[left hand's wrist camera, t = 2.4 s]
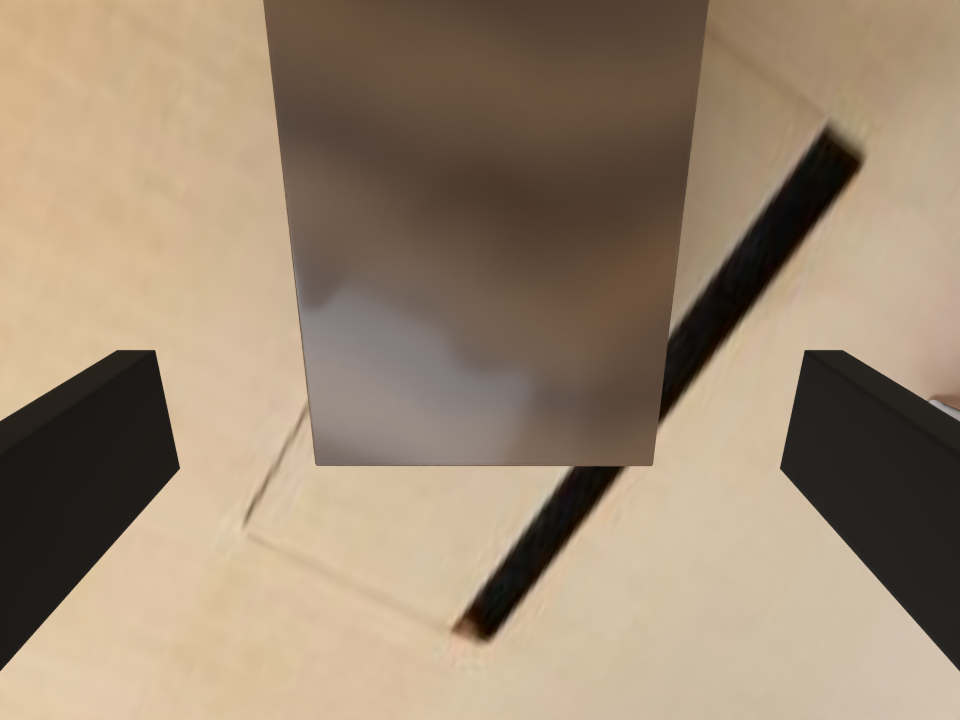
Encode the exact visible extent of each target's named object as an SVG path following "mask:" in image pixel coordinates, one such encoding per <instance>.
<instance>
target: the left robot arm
mask: <svg viewBox="0 0 960 720" xmlns="http://www.w3.org/2000/svg"><path fill="white" fill-rule="evenodd" d="M179 469H180V466H179V461H178V457H177V452H176V447H175V442H174V438H173V433H172V428H171V423H170V419H169V414H168V409H167V404H166V400H165V395H164V390H163V385H162V381H161V376H160V371H159V366H158V361H157V357H156V352H155V350H117V351H115V352H113V353H112V354H110V355H108V356H107V357H105V358H104V359H102V360H100V361H99V362H97V363H95V364H94V365H92V366H90V367H89V368H87V369H85V370H84V371H82V372H80V373H79V374H77V375H76V376H74V377H72V378H71V379H69V380H67V381H66V382H64V383H62V384H61V385H59V386H57V387H56V388H54V389H52V390H51V391H49V392H47V393H46V394H44V395H43V396H41V397H39V398H38V399H36V400H34V401H33V402H31V403H29V404H28V405H26V406H24V407H23V408H21V409H19V410H18V411H16V412H15V413H13V414H11V415H10V416H8V417H6V418H5V419H3V420H1V421H0V671H1V670H2V669H3V668H4V666H5V665H6V664H7V663H8V662H9V661H10V660H11V659H12V657H13V656H14V655H15V654H16V653H17V652H18V651H19V649H20V648H21V647H22V646H23V645H24V644H25V643H26V642H27V640H28V639H29V638H30V637H31V636H32V635H33V634H34V633H35V631H36V630H37V629H38V628H39V627H40V626H41V625H42V624H43V622H44V621H45V620H46V619H47V618H48V617H49V616H50V615H51V613H52V612H53V611H54V610H55V609H56V608H57V607H58V606H59V604H60V603H61V602H62V601H63V600H64V599H65V598H66V596H67V595H68V594H69V593H70V592H71V591H72V590H73V589H74V587H75V586H76V585H77V584H78V583H79V582H80V581H81V580H82V578H83V577H84V576H85V575H86V574H87V573H88V572H89V571H90V569H91V568H92V567H93V566H94V565H95V564H96V563H97V562H98V560H99V559H100V558H101V557H102V556H103V555H104V554H105V553H106V551H107V550H108V549H109V548H110V547H111V546H112V545H113V543H114V542H115V541H116V540H117V539H118V538H119V537H120V536H121V534H122V533H123V532H124V531H125V530H126V529H127V528H128V527H129V525H130V524H131V523H132V522H133V521H134V520H135V519H136V518H137V516H138V515H139V514H140V513H141V512H142V511H143V510H144V509H145V507H146V506H147V505H148V504H149V503H150V502H151V501H152V500H153V498H154V497H155V496H156V495H157V494H158V493H159V492H160V490H161V489H162V488H163V487H164V486H165V485H166V484H167V483H168V481H169V480H170V479H171V478H172V477H173V476H174V475H175V474H176V472H177V471H178V470H179ZM780 469H781V470H782V471H783V472H784V474H785V475H786V476H787V477H788V478H789V479H790V480H791V481H792V483H793V484H794V485H795V486H796V487H797V488H798V489H799V490H800V492H801V493H802V494H803V495H804V496H805V497H806V498H807V500H808V501H809V502H810V503H811V504H812V505H813V506H814V507H815V509H816V510H817V511H818V512H819V513H820V514H821V515H822V516H823V518H824V519H825V520H826V521H827V522H828V523H829V524H830V525H831V527H832V528H833V529H834V530H835V531H836V532H837V533H838V534H839V536H840V537H841V538H842V539H843V540H844V541H845V542H846V543H847V545H848V546H849V547H850V548H851V549H852V550H853V551H854V553H855V554H856V555H857V556H858V557H859V558H860V559H861V560H862V562H863V563H864V564H865V565H866V566H867V567H868V568H869V569H870V571H871V572H872V573H873V574H874V575H875V576H876V577H877V578H878V580H879V581H880V582H881V583H882V584H883V585H884V586H885V587H886V589H887V590H888V591H889V592H890V593H891V594H892V595H893V596H894V598H895V599H896V600H897V601H898V602H899V603H900V604H901V606H902V607H903V608H904V609H905V610H906V611H907V612H908V613H909V615H910V616H911V617H912V618H913V619H914V620H915V621H916V622H917V624H918V625H919V626H920V627H921V628H922V629H923V630H924V631H925V633H926V634H927V635H928V636H929V637H930V638H931V639H932V640H933V642H934V643H935V644H936V645H937V646H938V647H939V648H940V649H941V651H942V652H943V653H944V654H945V655H946V656H947V657H948V659H949V660H950V661H951V662H952V663H953V664H954V665H955V666H956V668H957V669H958V670H959V671H960V421H959V420H957V419H955V418H954V417H952V416H950V415H949V414H947V413H945V412H944V411H942V410H941V409H939V408H937V407H936V406H934V405H932V404H931V403H929V402H927V401H926V400H924V399H922V398H921V397H919V396H917V395H916V394H914V393H913V392H911V391H909V390H908V389H906V388H904V387H903V386H901V385H899V384H898V383H896V382H894V381H893V380H891V379H889V378H888V377H886V376H884V375H883V374H881V373H880V372H878V371H876V370H875V369H873V368H871V367H870V366H868V365H866V364H865V363H863V362H861V361H860V360H858V359H856V358H855V357H853V356H852V355H850V354H848V353H847V352H845V351H843V350H805V352H804V357H803V361H802V366H801V371H800V376H799V381H798V385H797V390H796V395H795V400H794V404H793V409H792V414H791V419H790V423H789V428H788V433H787V438H786V442H785V447H784V452H783V457H782V461H781V466H780Z"/></svg>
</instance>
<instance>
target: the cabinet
mask: <svg viewBox="0 0 960 720" xmlns="http://www.w3.org/2000/svg"><path fill="white" fill-rule="evenodd" d="M263 2H264V11H265V20H266V29H267V38H268V46H269V55H270V64H271V73H272V82H273V91H274V100H275V109H276V118H277V126H278V135H279V144H280V153H281V162H282V171H283V180H284V189H285V198H286V206H287V215H288V224H289V233H290V242H291V251H292V260H293V269H294V278H295V286H296V295H297V304H298V313H299V322H300V331H301V340H302V349H303V358H304V366H305V375H306V384H307V393H308V402H309V411H310V420H311V429H312V438H313V447H314V455H315V464H316V465H317V466H652V465H653V459H654V451H655V442H656V434H657V426H658V418H659V409H660V401H661V393H662V384H663V376H664V368H665V359H666V351H667V343H668V334H669V326H670V318H671V310H672V301H673V293H674V285H675V276H676V268H677V260H678V251H679V243H680V235H681V227H682V218H683V210H684V202H685V193H686V185H687V177H688V168H689V160H690V152H691V144H692V135H693V127H694V119H695V110H696V102H697V94H698V85H699V77H700V69H701V61H702V52H703V44H704V36H705V27H706V19H707V11H708V2H709V0H263Z"/></svg>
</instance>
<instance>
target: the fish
mask: <svg viewBox="0 0 960 720" xmlns="http://www.w3.org/2000/svg"><path fill="white" fill-rule="evenodd" d="M929 403H931V404H932V405H934V406H936V407H937V408H939V409H941V410H942V411H944V412H945V413H947V414H949V415H950V416H952V417H954V418H955V419H957V420H959V421H960V410H959V409H956V408H953V407H951V406H948V405H946V404H944V403H942V402H940V401H937V400H931V401H929Z"/></svg>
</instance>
